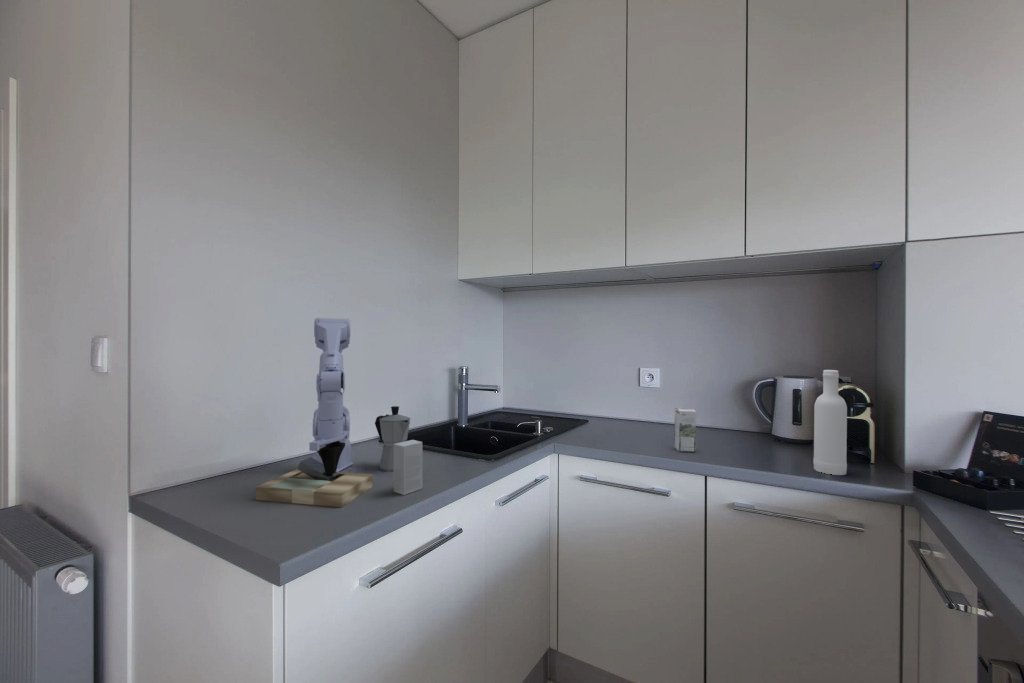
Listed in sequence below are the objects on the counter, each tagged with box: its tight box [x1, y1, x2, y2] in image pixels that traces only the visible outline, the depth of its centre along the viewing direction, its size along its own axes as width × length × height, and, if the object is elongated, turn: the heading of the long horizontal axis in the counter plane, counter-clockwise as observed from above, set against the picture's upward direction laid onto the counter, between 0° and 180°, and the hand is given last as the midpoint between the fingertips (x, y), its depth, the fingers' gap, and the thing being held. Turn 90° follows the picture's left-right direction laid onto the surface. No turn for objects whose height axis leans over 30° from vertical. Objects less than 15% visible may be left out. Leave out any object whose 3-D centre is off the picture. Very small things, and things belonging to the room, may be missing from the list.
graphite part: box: [296, 456, 339, 482], centre depth 107 cm, size 4×9×2 cm, turn 80°
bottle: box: [812, 369, 848, 476], centre depth 125 cm, size 8×8×30 cm
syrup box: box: [673, 407, 697, 453], centre depth 148 cm, size 6×6×14 cm
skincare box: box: [393, 439, 424, 496], centre depth 106 cm, size 6×4×12 cm
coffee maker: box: [374, 405, 411, 472], centre depth 126 cm, size 15×9×18 cm, turn 56°
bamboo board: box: [255, 468, 374, 508], centre depth 103 cm, size 14×22×3 cm, turn 80°
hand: (330, 473), depth 106 cm, fingers closed, pressing on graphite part
